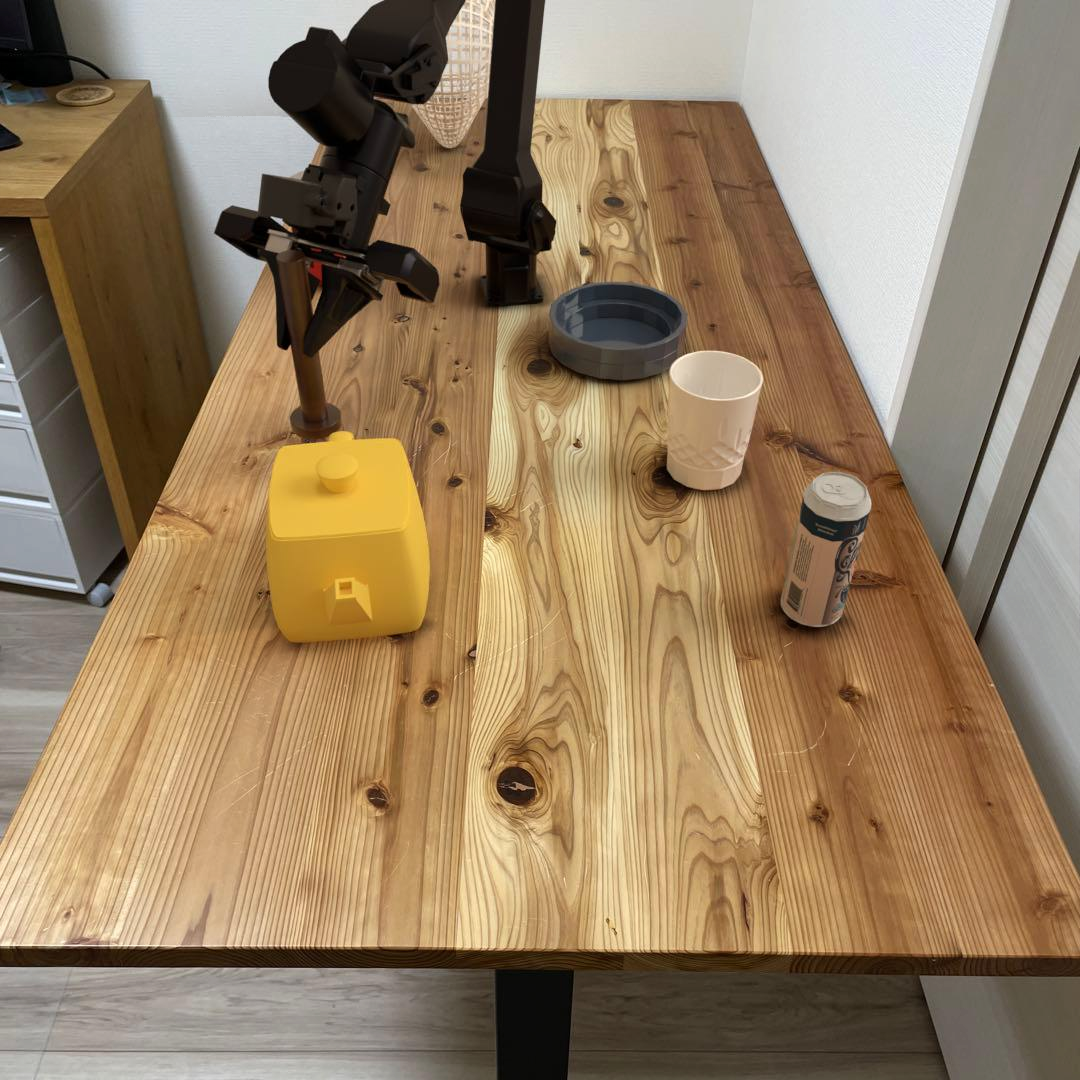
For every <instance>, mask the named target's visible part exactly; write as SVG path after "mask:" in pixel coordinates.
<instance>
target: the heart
mask: <svg viewBox="0 0 1080 1080" xmlns="http://www.w3.org/2000/svg"><path fill="white" fill-rule="evenodd" d="M480 1H481V2H480ZM463 6H464V8H463V7H462V8H461V10H460V12H459V13H458V15H457V17H456V18H455V20H454V22H453V23H452V25H451V27H450V29H449V32H448V34H447V36H446V37H448V39H446V44H447V45H448V46H447V52H448V62H447V65H449V66H448V67H449V68H448V69H449V70H448V71H449V72H443V74H442V76H441V80H440V83H439V85H438V87H440V91H438V87H437V88H436V90H435V92H434V94H433V95H432V96H431V98H430V99H429V100H428V101H427V102H426V103H425V104H419V105H418V104H409V105H410V107H412V109H413V110H414V112H415V113H416V114H417V116H418V117H419V118H420V120H421V121H422V123H423V125H425V126H426V128H427V129H428V131H429V132H430V133H431V135H432V137H433V138H434V139H435V140H436V142H437V143H438V144H439V145H440V146H442V147H443V148H446V149H454V148H456V147H457V146H459V144H460V143H461V142H462V141H463V139H464V138H465V136H466V134H467V133H468V131H469V129H470V127H471V126H472V123H473V122H474V120H475V118H476V116H477V115H478V113H479V112H480V109H481V107H482V106H483V104H484V102H485V100H486V99H487V98H488V89H489V76H490V63H491V50H492V37H493V24H494V11H495V0H486V1H485V0H466V1H465V3H464V5H463ZM468 7H469V9H468ZM477 10H478V11H479V13H478V12H476V11H477ZM462 14H464V17H463V16H462ZM468 15H469V16H468ZM477 18H478V19H479V20H478V19H477ZM476 24H477V25H476ZM452 27H456V30H457V32H452ZM485 27H486V28H485ZM462 28H464V32H463V31H462ZM476 31H478V34H476ZM483 33H485V34H486V36H485V35H483ZM452 37H457V38H456V40H452ZM463 37H464V40H462V38H463ZM476 39H478V42H477V41H476ZM483 40H485V43H483ZM452 45H455V46H456V45H457V47H455V46H454V47H453V46H452ZM463 46H464V47H463ZM483 51H485V56H483V55H482V52H483ZM452 52H457V59H453V57H452V55H453V53H452ZM463 52H464V53H465V54H464V59H463ZM475 52H478V58H477V59H476V57H475V56H476V55H475V54H476V53H475ZM475 64H477V69H475ZM482 64H483V65H482ZM453 65H457V72H453ZM463 65H464V72H463ZM484 69H485V71H484V72H483V70H484ZM482 72H483V73H482ZM467 81H468V82H467ZM444 82H448V83H444ZM454 82H456V83H454ZM474 85H476V86H475V87H474ZM455 87H456V90H454V88H455ZM467 87H468V88H467ZM445 88H449V90H446V91H445ZM466 88H467V89H466ZM465 97H466V99H464V98H465ZM435 98H436V101H435ZM439 98H441V102H440V99H439ZM445 98H449V101H448V102H446V99H445ZM459 98H460V100H458V99H459ZM430 100H431V101H430ZM437 108H438V110H437ZM447 109H449V110H447ZM448 121H449V122H448ZM448 131H449V132H448Z"/></svg>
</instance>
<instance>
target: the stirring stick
mask: <svg viewBox="0 0 1080 1080" xmlns="http://www.w3.org/2000/svg"><path fill="white" fill-rule="evenodd" d="M276 259H277V265H278V271H279V277H280V283H281V289H282V296H283V302H284V308H285V314H286V320H287V326H288V332H289V338H290V344H291V345H290V350H291V355H292V363H293V368H294V374H295V379H296V380H295V381H296V386H297V392H298V398H299V406H298V407H296V408H294V410H292V412H291V413H290V414H289V415H290V416H289V423H290V429H291V432H292V433H293V434H294V435H295V436H297V437H298V438H301V439H305V440H321V439H326V438H329V436H330V435H331V434H332V433H334V432H338V431H340V430H341V428H342V424H343V420H342V414H341V410H340V409H339V408H338V407H337V406H336V405H334V404H332V403H329V402H327V399H326V392H325V385H324V378H323V371H322V364H321V358H320V350H319V351H318V352H317V353H316V354H315V355H314V356H313V357H312V358H310V357H307V356H305V355H304V354H303V348H304V343H305V339H306V335H307V332H308V329H309V326H310V323H311V320H312V318H313V315H314V309H313V300H312V301H311V294H310V287H309V280H308V273H307V267H306V260H305V254H304V253H303V252H301V251H298V250H287V251H283V252H281V253H279V254H278V255H277V257H276Z"/></svg>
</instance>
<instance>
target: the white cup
mask: <svg viewBox="0 0 1080 1080" xmlns="http://www.w3.org/2000/svg"><path fill="white" fill-rule="evenodd" d="M763 381H764V375H763V373H762V371H761V369H760V368H759V367H758V366H757V365H756V364H755V363H754V362H752V361H751V360H749V359H747V358H745V357H743V356H741V355H740V354H739V355H738V354H735V353H731V352H728V351H727V352H726V351H723V350H699V351H693V352H689V353H687V354H683V355H682V356H681V357H680V358H678V359H677V360H676V361H674V363H673V364H672V365H671V367H670V368H669V374H668V392H667V393H668V395H667V408H666V409H667V410H666V419H667V421H666V440H665V441H666V444H667V452H666V456H667V457H666V471H667V472H668V473H669V474H670V476H671V477H672V479H673V480H674V481H676V482H677V483H679V484H681V485H683V486H685V487H687V488H690V489H695V490H701V491H716V490H722V489H724V488H726V487H728V486H731V485H734V483H735V482H736V481H737V480H738V479H739V477H740V476H741V474H742V470H743V465H744V460H745V455H746V452H747V449H748V446H749V442H750V439H751V434H752V432H753V427H754V424H755V419H756V413H757V409H758V405H759V401H760V396H761V391H762V387H763V383H764V382H763Z"/></svg>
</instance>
